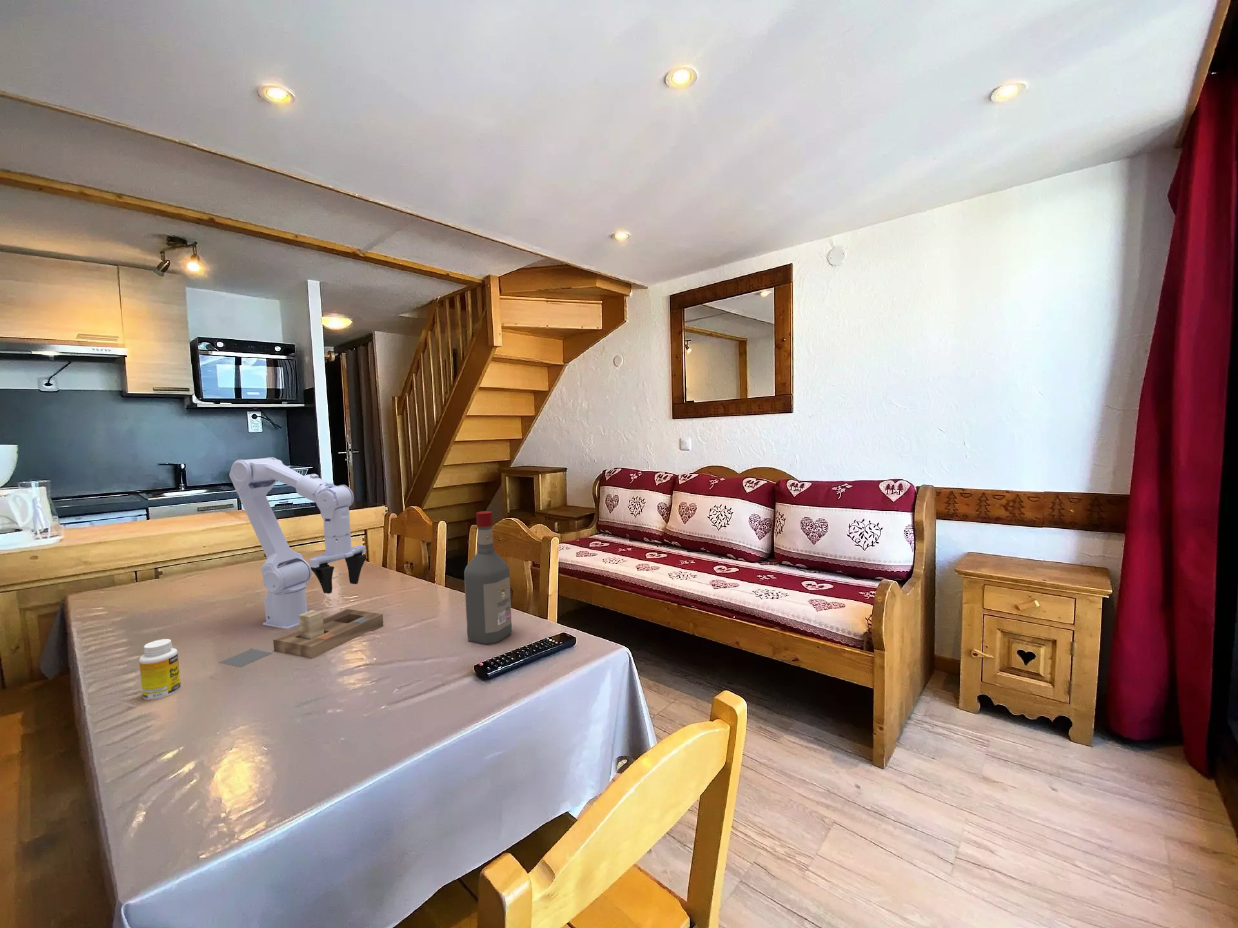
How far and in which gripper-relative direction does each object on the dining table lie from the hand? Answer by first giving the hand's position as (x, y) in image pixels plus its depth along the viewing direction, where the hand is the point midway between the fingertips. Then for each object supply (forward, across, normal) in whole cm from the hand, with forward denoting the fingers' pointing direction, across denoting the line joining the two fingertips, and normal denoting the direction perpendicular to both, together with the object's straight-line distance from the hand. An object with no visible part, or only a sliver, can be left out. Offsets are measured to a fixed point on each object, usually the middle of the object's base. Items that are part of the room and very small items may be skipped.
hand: (341, 588), depth 130 cm
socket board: (+10, -6, -3) cm, 12 cm away
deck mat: (+10, -20, +6) cm, 23 cm away
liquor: (+10, +8, -38) cm, 41 cm away
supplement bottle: (+11, -36, +6) cm, 38 cm away
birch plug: (+10, -11, -3) cm, 15 cm away
